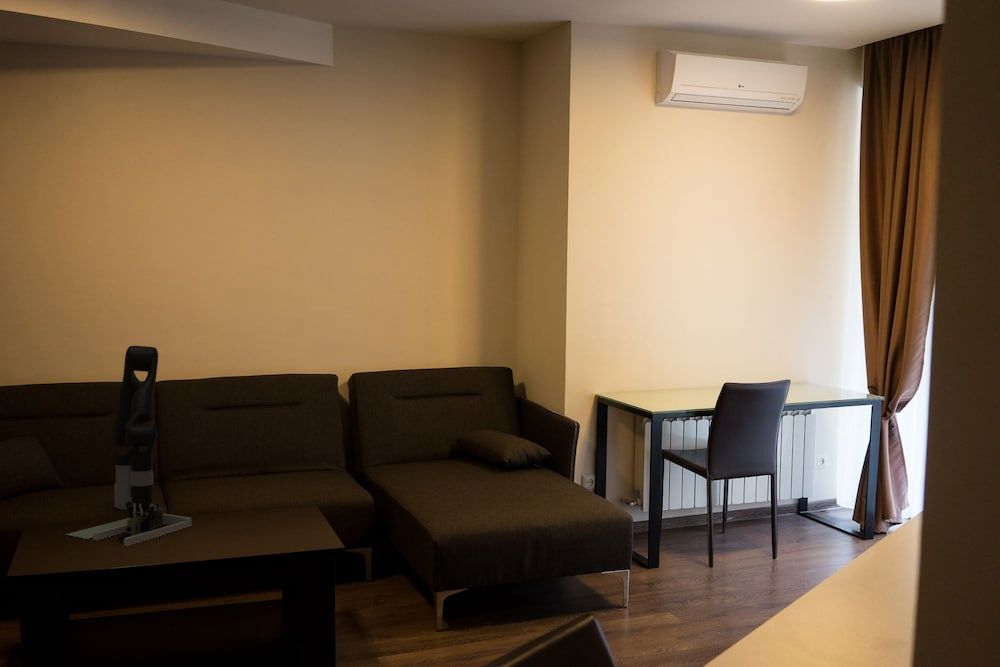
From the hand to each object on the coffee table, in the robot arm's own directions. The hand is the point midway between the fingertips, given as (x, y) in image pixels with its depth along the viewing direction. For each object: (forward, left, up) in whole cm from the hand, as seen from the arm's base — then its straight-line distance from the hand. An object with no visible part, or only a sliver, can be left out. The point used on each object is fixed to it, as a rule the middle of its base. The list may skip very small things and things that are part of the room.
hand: (142, 531), depth 317 cm
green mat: (-16, 0, -1) cm, 16 cm away
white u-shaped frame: (0, 0, -1) cm, 1 cm away
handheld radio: (0, 0, -1) cm, 1 cm away
